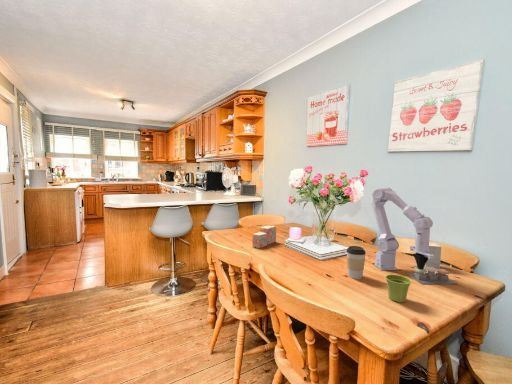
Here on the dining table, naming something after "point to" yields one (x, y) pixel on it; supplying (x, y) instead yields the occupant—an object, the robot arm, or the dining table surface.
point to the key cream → (431, 270)
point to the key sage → (420, 271)
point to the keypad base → (431, 278)
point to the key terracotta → (442, 272)
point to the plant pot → (397, 287)
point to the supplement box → (436, 252)
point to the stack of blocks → (264, 236)
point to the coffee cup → (355, 261)
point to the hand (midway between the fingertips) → (420, 268)
